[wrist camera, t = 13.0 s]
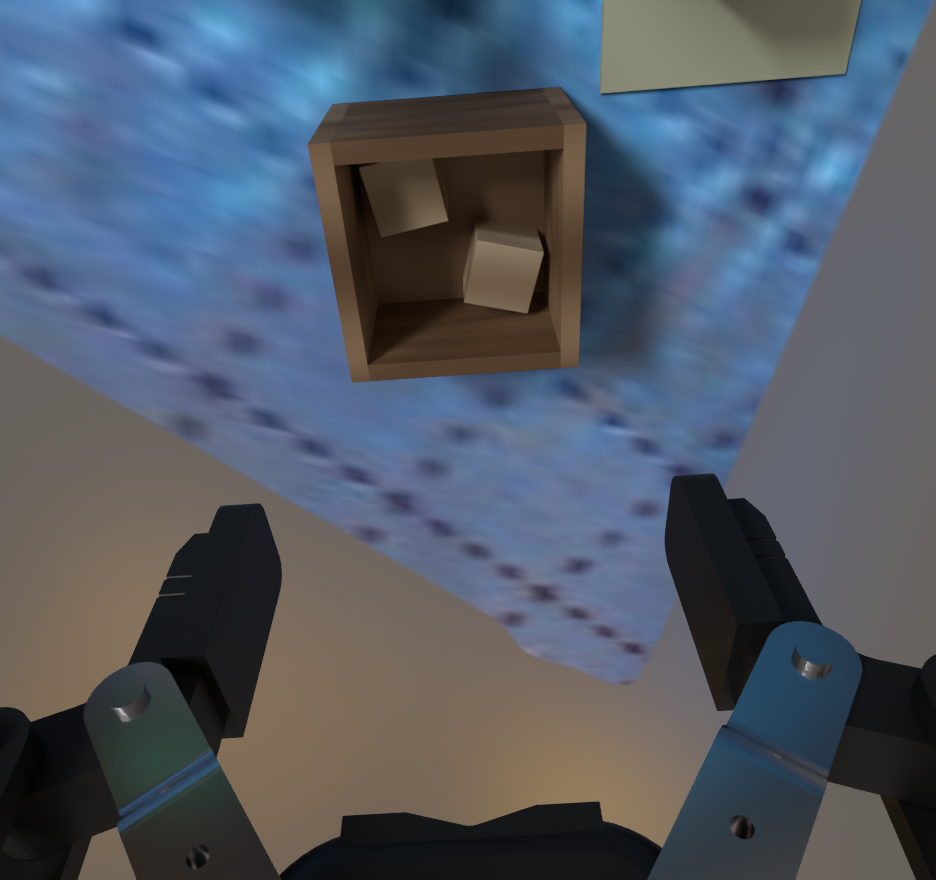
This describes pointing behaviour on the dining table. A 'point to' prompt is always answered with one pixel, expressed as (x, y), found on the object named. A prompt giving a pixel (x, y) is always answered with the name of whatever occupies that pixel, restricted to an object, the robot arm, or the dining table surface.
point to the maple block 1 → (405, 194)
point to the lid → (722, 41)
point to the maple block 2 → (502, 265)
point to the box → (454, 231)
